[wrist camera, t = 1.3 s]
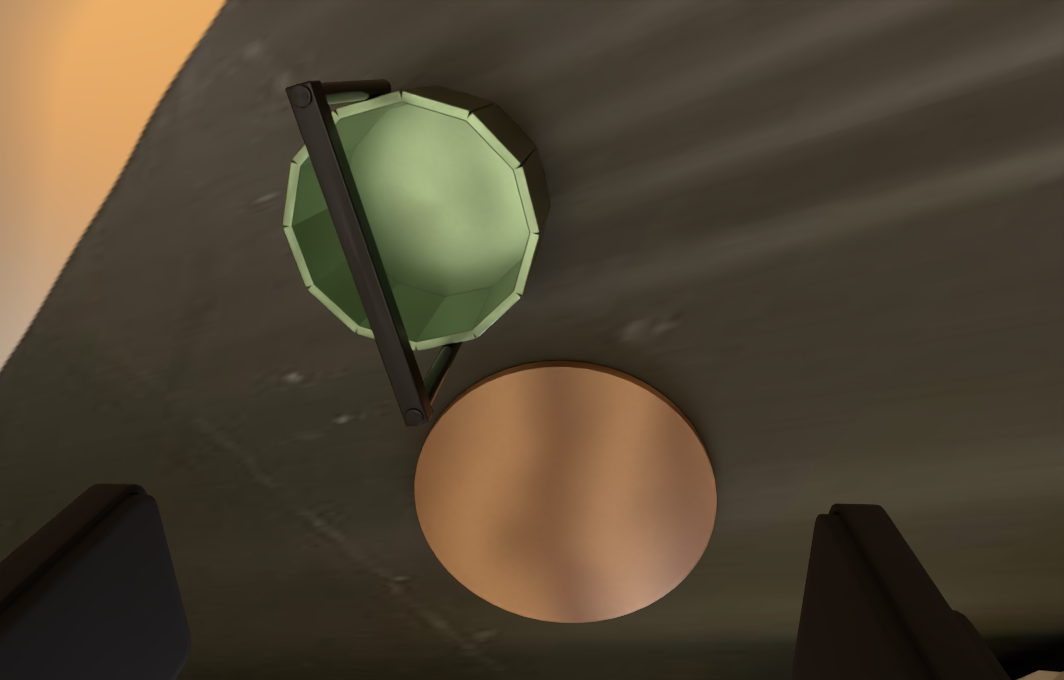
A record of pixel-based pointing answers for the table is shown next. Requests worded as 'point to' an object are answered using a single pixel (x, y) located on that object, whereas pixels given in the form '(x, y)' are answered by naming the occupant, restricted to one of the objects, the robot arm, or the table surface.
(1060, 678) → the faceted club
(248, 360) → the table surface
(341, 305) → the pot
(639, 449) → the trivet
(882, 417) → the table surface
